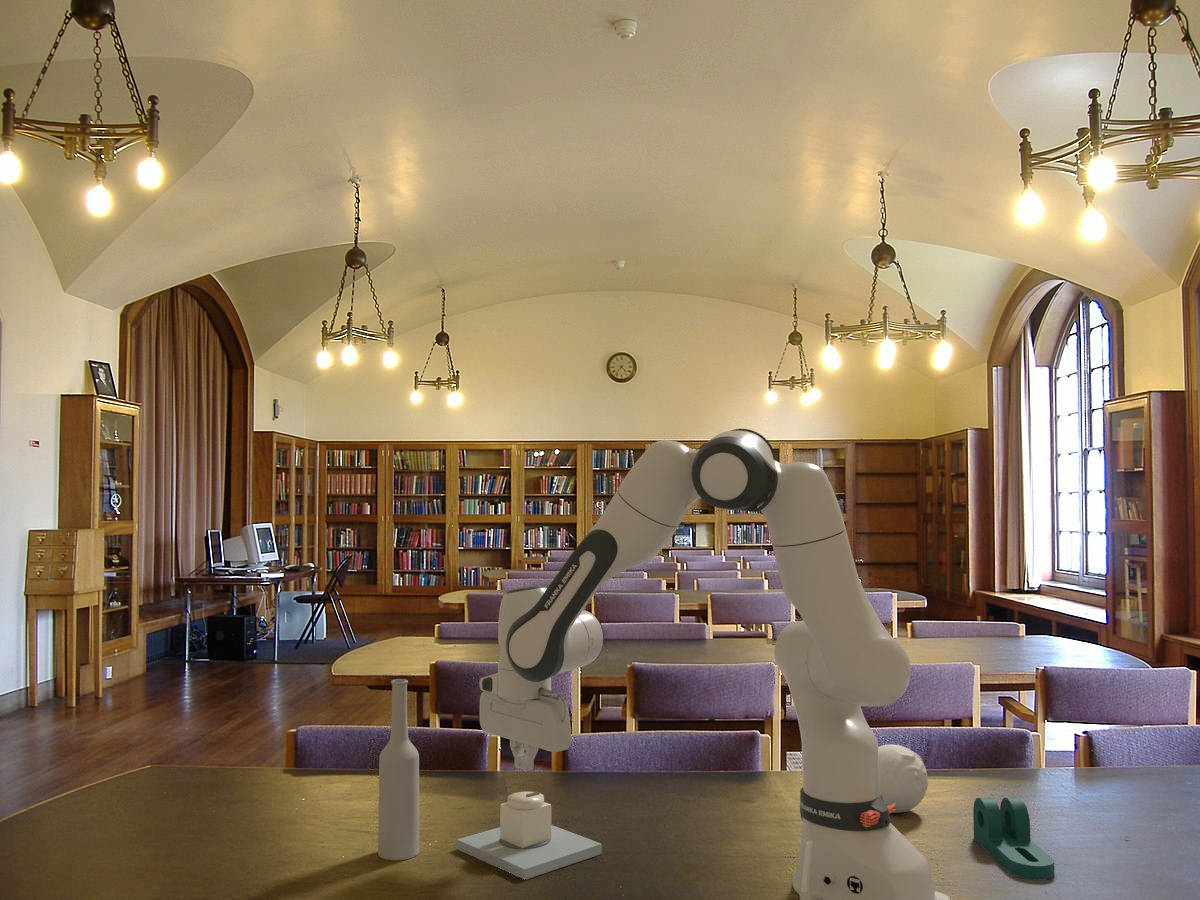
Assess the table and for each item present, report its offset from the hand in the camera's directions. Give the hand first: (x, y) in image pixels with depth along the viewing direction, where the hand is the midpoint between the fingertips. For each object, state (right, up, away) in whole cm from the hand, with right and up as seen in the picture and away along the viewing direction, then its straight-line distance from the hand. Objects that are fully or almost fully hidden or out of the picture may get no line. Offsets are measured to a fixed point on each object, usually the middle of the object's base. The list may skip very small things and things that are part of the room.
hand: (524, 768), depth 164 cm
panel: (+1, -13, -1) cm, 13 cm away
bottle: (-20, -14, -2) cm, 24 cm away
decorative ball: (+67, -14, +19) cm, 71 cm away
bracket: (+79, -13, -5) cm, 81 cm away
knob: (0, -11, 0) cm, 11 cm away
